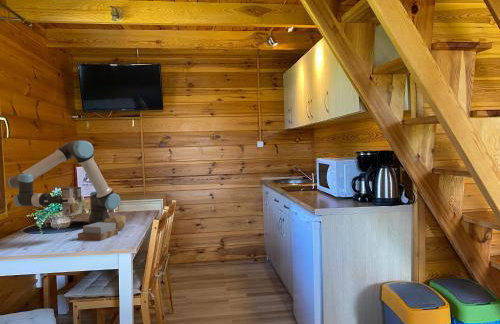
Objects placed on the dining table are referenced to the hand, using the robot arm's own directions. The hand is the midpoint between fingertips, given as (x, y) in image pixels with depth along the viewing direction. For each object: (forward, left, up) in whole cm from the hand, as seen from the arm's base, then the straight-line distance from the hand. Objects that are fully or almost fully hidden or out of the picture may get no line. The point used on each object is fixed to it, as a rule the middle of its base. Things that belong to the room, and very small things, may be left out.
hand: (78, 199), depth 210 cm
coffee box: (+1, -4, -9) cm, 10 cm away
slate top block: (-7, +8, -20) cm, 23 cm away
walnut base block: (-7, +8, -24) cm, 27 cm away
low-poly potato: (-25, +6, -24) cm, 35 cm away
